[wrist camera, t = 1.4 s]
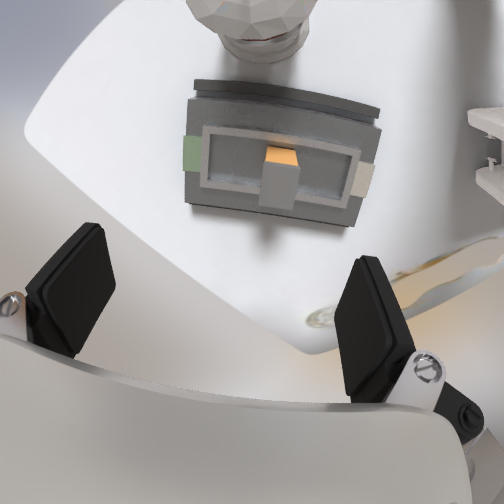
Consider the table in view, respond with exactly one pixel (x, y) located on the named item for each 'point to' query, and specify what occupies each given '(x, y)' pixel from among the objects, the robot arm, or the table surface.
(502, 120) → the cable organizer
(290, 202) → the lever
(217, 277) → the table surface
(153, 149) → the table surface
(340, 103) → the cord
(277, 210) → the panel
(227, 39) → the french press
